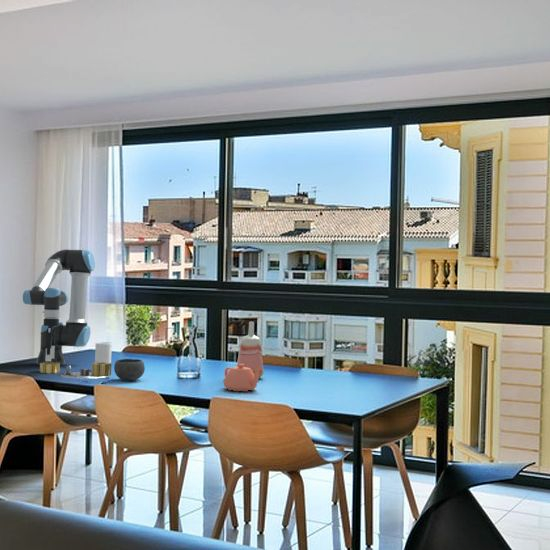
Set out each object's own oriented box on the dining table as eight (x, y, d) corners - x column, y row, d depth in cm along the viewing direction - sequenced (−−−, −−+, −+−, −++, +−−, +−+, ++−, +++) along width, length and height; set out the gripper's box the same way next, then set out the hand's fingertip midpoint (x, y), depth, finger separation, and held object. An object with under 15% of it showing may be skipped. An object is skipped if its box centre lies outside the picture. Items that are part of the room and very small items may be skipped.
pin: (66, 374, 393) (66, 365, 393) (70, 374, 393) (71, 365, 393) (65, 375, 391) (66, 366, 391) (70, 375, 391) (70, 366, 391)
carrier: (62, 374, 403) (62, 362, 403) (110, 374, 407) (110, 363, 407) (57, 381, 380) (57, 369, 380) (108, 381, 384) (108, 369, 384)
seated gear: (90, 374, 398) (90, 362, 397) (109, 373, 401) (109, 361, 401) (92, 376, 389) (93, 364, 388) (112, 376, 392) (112, 364, 392)
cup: (106, 374, 407) (107, 344, 407) (92, 373, 408) (92, 343, 408) (113, 372, 415) (114, 342, 415) (98, 371, 416) (99, 341, 416)
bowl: (144, 382, 385) (144, 362, 385) (113, 382, 383) (113, 362, 383) (144, 378, 400) (144, 358, 400) (114, 377, 397) (115, 358, 397)
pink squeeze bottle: (246, 375, 423) (248, 320, 422) (268, 378, 414) (270, 322, 414) (230, 378, 411) (232, 321, 410) (252, 381, 402) (254, 323, 402)
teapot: (270, 391, 373) (271, 365, 373) (251, 395, 360) (252, 368, 360) (232, 385, 385) (233, 360, 385) (213, 389, 372) (214, 363, 372)
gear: (41, 373, 403) (41, 361, 403) (60, 373, 405) (60, 362, 405) (38, 376, 394) (39, 364, 394) (58, 376, 395) (58, 364, 395)
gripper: (46, 316, 411) (45, 357, 410) (40, 319, 386) (39, 362, 386) (61, 316, 412) (59, 357, 412) (56, 319, 387) (54, 362, 387)
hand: (49, 359), depth 399 cm, fingers open, 13 cm apart
